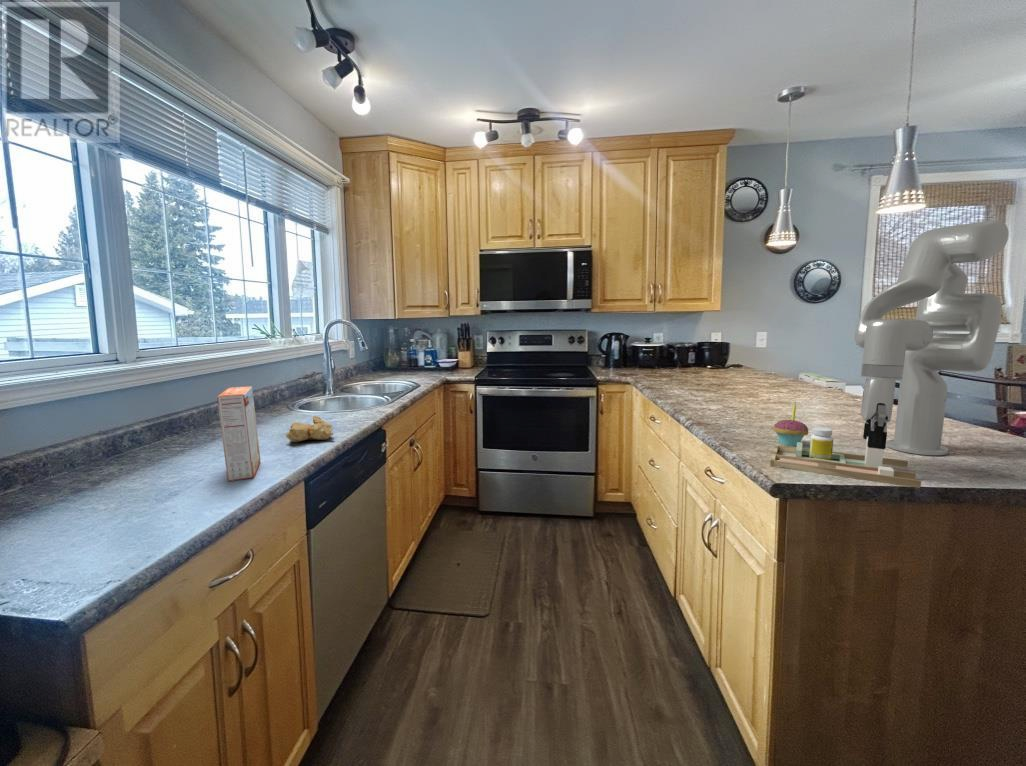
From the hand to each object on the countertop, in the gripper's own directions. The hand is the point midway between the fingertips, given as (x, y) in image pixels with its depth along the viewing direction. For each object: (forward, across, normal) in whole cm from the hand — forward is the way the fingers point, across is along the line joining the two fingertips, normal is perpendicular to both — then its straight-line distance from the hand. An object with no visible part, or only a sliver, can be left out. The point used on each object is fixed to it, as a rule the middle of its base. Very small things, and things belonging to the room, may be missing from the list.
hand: (873, 443), depth 106 cm
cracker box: (+11, +81, -131) cm, 154 cm away
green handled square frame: (+6, -1, -7) cm, 9 cm away
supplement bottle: (+6, -1, -10) cm, 12 cm away
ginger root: (+10, +54, -145) cm, 155 cm away
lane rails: (+6, +2, -6) cm, 9 cm away
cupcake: (+6, -15, -17) cm, 24 cm away
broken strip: (+7, +7, -8) cm, 12 cm away
